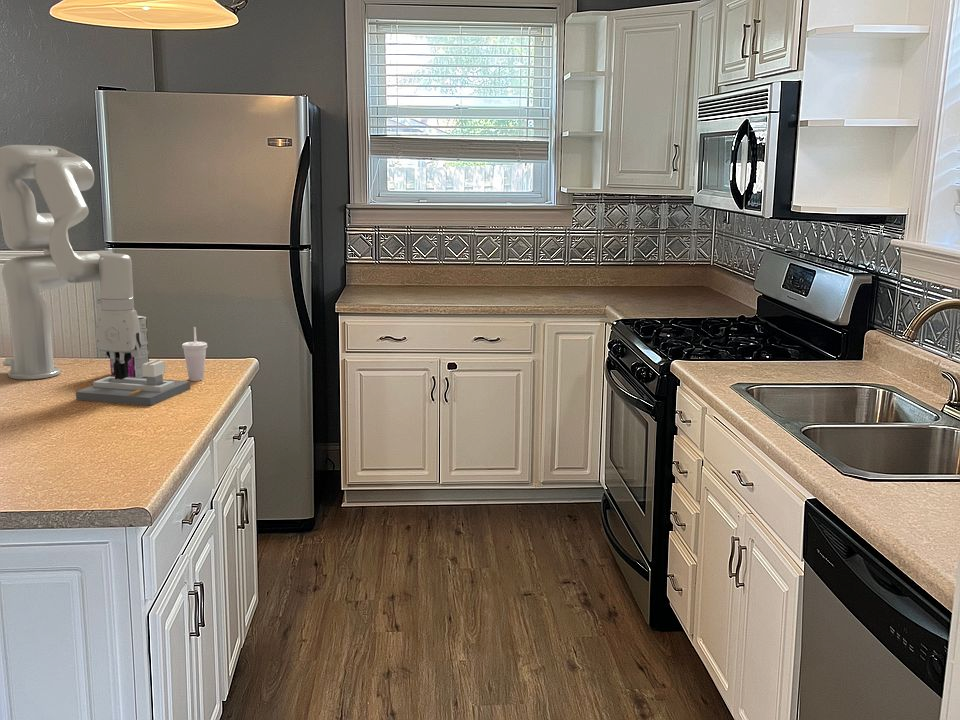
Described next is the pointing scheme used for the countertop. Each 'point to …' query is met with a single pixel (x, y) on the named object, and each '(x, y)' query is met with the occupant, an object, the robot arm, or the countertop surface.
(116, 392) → the board
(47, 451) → the countertop surface
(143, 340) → the candy bar box
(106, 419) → the countertop surface
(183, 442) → the countertop surface
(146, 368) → the fader knob
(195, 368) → the smoothie
